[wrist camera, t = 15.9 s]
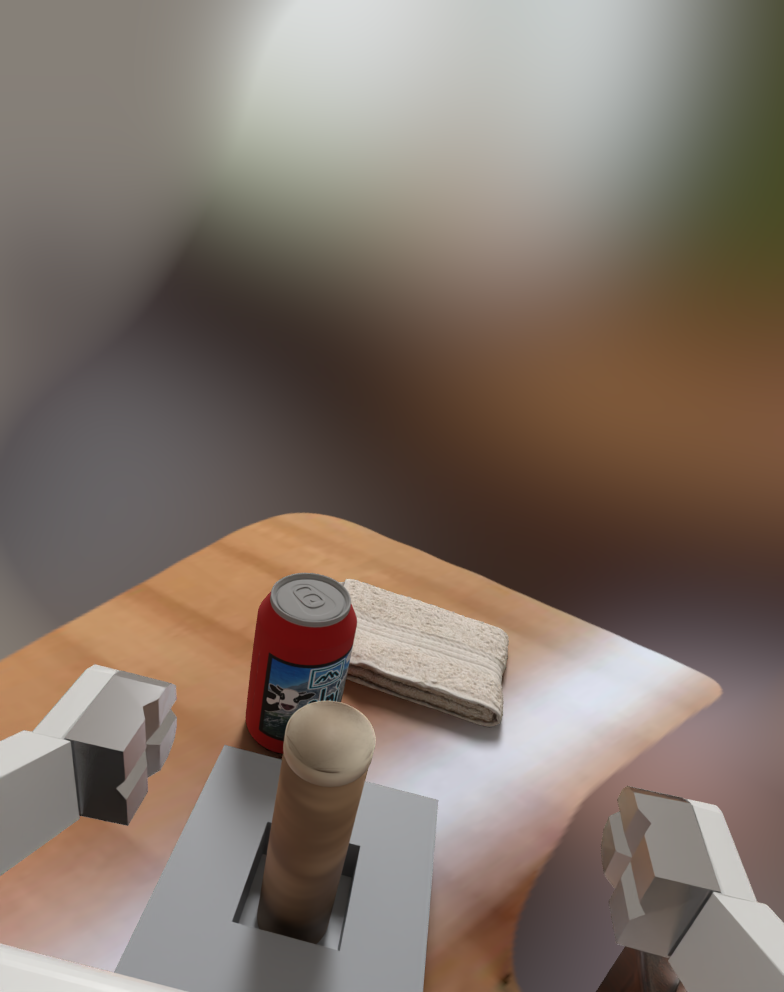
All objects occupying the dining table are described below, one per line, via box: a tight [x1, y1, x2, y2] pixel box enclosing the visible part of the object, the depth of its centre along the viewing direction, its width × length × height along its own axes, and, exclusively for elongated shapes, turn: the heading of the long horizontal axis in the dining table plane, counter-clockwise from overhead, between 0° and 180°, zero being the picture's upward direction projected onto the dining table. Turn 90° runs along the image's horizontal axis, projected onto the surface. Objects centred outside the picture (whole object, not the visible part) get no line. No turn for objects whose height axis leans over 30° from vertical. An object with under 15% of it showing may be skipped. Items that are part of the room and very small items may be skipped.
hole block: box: [114, 745, 438, 992], centre depth 33 cm, size 14×14×4 cm
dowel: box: [257, 701, 376, 944], centre depth 31 cm, size 4×4×14 cm
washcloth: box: [340, 579, 509, 727], centre depth 55 cm, size 12×18×3 cm, turn 76°
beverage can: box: [246, 573, 357, 754], centre depth 43 cm, size 7×7×12 cm
